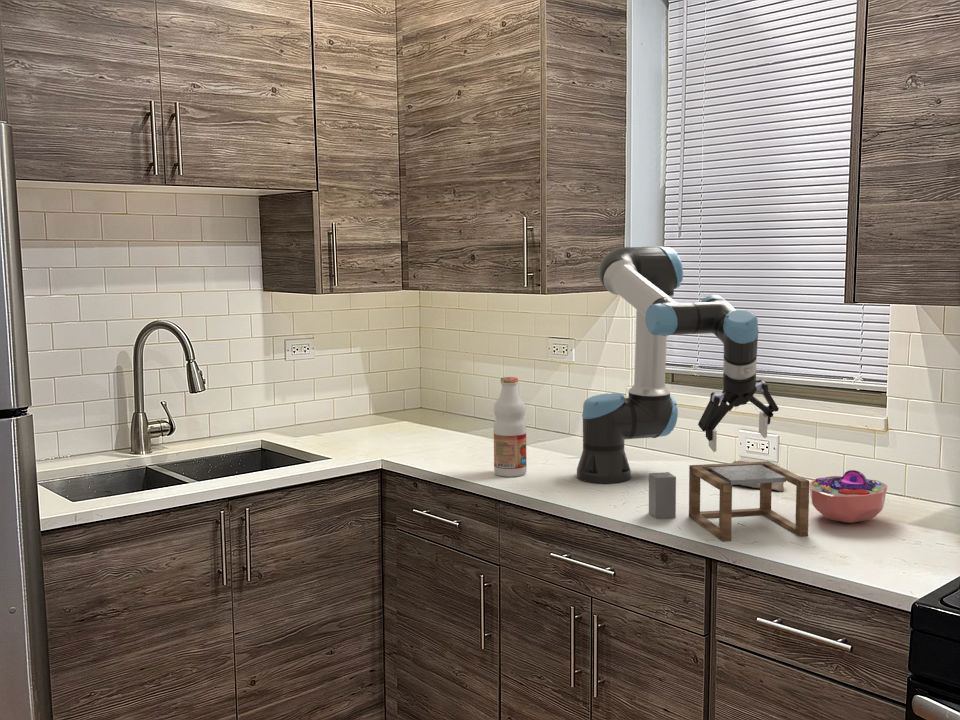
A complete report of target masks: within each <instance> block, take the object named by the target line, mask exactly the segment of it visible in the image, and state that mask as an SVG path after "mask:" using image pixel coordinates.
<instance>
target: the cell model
mask: <svg viewBox="0 0 960 720" xmlns="http://www.w3.org/2000/svg"><path fill="white" fill-rule="evenodd" d="M887 490H888V485H887V484H886V483H885V482H881V481H879V480H875V479H870V478H869V479H868V478H867V477H866V475H865V474H864V473H862V472H860V471H859V470H855V469H850V470H847V471H845V472H844V474H843V475H842V476H841V475H840V476H838V475H834V476H832V475H831V476H826V477H825V476H824V477H818V478H817V477H816V478H814V479H813V480H811V481H809V496H810V499H811V504H812V506H813V508H815V510H816V511H817V512H819V513H820V514H821V515H822V516H823V517H825V518H827V519H829V520H831V521H837V522H842V523H846V524H847V523H848V524H854V523H857V522H864V521H868V520H871V519H874V518H876V517H877V515H878V514H880V513H881V512H882V511H883V509H884V506H885V503H886V502H885V501H886V495H887Z"/></svg>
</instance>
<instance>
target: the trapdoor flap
mask: <svg viewBox="0 0 960 720" xmlns="http://www.w3.org/2000/svg"><path fill="white" fill-rule="evenodd" d="M705 470H707V471H709V472H710V473H712V474H714V475H716V476H717V477H719V478H721V479H723V480H724V481H726V482H728V483H729V484H731V485H732V486H734V485H736V486H737V485H740V484H755V483H774V482H784V483H786V482H787V481H786V477H784V476H782V475H780V474H778V473H776V472H774V471H772V470H770V469H768V468H766V467H764V465H744V466H724V467H705Z"/></svg>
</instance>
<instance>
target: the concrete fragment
mask: <svg viewBox="0 0 960 720" xmlns="http://www.w3.org/2000/svg"><path fill="white" fill-rule="evenodd" d="M745 462H746V461H745V460H738V461H737V460H734V461H733V462H732V463H745ZM784 483H785V482H774V483H772V491H778V492H782V491H784V489H785V488H784ZM740 485H741V486H742V487H749V488H754V489H760V483H755V484H739V486H740Z"/></svg>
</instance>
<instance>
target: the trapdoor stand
mask: <svg viewBox="0 0 960 720" xmlns="http://www.w3.org/2000/svg"><path fill="white" fill-rule="evenodd" d="M744 465H764V467H766V468H768V469H770V470H772V471H774V472H776V473H778V474H780V475H782V476H784V477H786V482H788V483H790V484H792V485H794V486H796V489H795V492H796V493H795V523H794V522H793V521H791V520H790V519H788V518H786V517H784V516H782V515H781V514H779V513H778V512H776V511H774V510H772V491H773V490H772V483H760V488H759V507H755V508H738V509H733V485H731V484H729V483H728V482H726V481H724V480H723V479H721V478H719V477H717V476H716V475H714V474H712V473H710V472H709V471H707V470H705V467H724V466H744ZM688 469H689V471H688V473H689V475H688V477H689V480H688V481H689V482H688V517H689V518H691V519H692V520H693V521H694V522H696V523H698V524H699V525H700V527H702V528H704V529H705V530H707V531H708V532H710V533H711V534H712V535H714V536H715V537H716V538H717V539H719V540H720V541H722V542H732V526H733V525H732V521H733V517H738V516H739V517H740V516H741V517H742V516H756V515H757V516H758V515H759V516H760V515H763V516H765V517H767V518H769V519H770V520H772V521H774V522H775V523H777V524H779V525H780V526H782V527H784V528H785V529H787V530H788V531H790V532H792V533H793V534H794V535H796V536H798V537H808V536H809V515H810V514H809V513H810V485H809V484H810V480H808V479H806V478H804V477H802V476H800V475H797V474H795V473H794V472H792V471H789V469H788V470H787V469H785V468H784V467H781V466H779V465H777V464H775V463H773V462H771V461H768V460H765V461H752V462H751V461H745V463H733V462H729V463H728V462H726V463H707V464H690V465H688ZM701 480H702V481H704V482H706V483H708V484H709V485H711V486H712V487H714V488H716V489H717V490H719V506H718V507H719V510H704V511H702V510H701ZM709 518H719V520H718V522H719V523H718V525H716V524H715V523H713V522H712V521H710V520H709Z"/></svg>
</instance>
